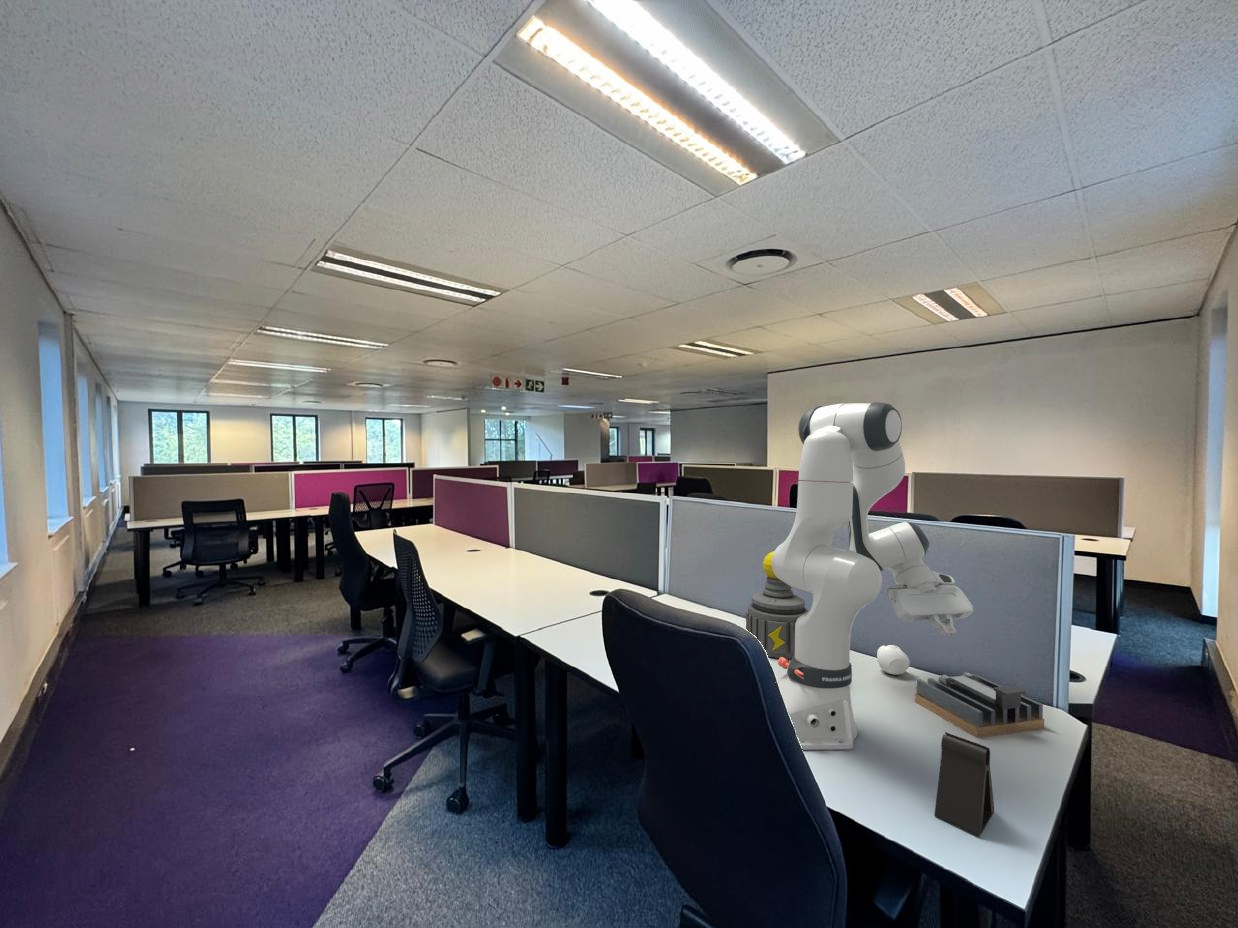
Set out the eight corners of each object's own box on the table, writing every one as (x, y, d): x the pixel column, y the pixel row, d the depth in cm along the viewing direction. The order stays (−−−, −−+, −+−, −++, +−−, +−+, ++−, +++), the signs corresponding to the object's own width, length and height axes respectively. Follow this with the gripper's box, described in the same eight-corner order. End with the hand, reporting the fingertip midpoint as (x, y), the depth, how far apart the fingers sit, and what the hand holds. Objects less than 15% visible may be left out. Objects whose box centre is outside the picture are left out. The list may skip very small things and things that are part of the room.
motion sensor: (915, 676, 134) (915, 648, 134) (896, 681, 130) (896, 652, 130) (888, 665, 141) (888, 638, 141) (869, 670, 138) (869, 642, 138)
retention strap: (993, 704, 107) (993, 699, 107) (947, 680, 118) (947, 676, 118) (1010, 702, 108) (1010, 697, 108) (963, 678, 120) (963, 674, 120)
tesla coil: (747, 634, 165) (748, 544, 165) (808, 641, 159) (809, 547, 159) (743, 655, 147) (744, 554, 147) (811, 664, 141) (813, 558, 141)
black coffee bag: (952, 793, 86) (953, 723, 86) (994, 811, 82) (995, 738, 82) (934, 816, 80) (934, 742, 80) (978, 838, 76) (979, 759, 76)
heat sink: (980, 739, 103) (981, 696, 103) (914, 701, 119) (915, 664, 119) (1048, 730, 107) (1049, 688, 107) (976, 694, 123) (976, 658, 123)
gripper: (890, 579, 126) (921, 630, 116) (957, 576, 130) (992, 626, 120) (877, 592, 130) (906, 643, 120) (942, 589, 134) (975, 638, 125)
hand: (950, 634), depth 120 cm, fingers closed
